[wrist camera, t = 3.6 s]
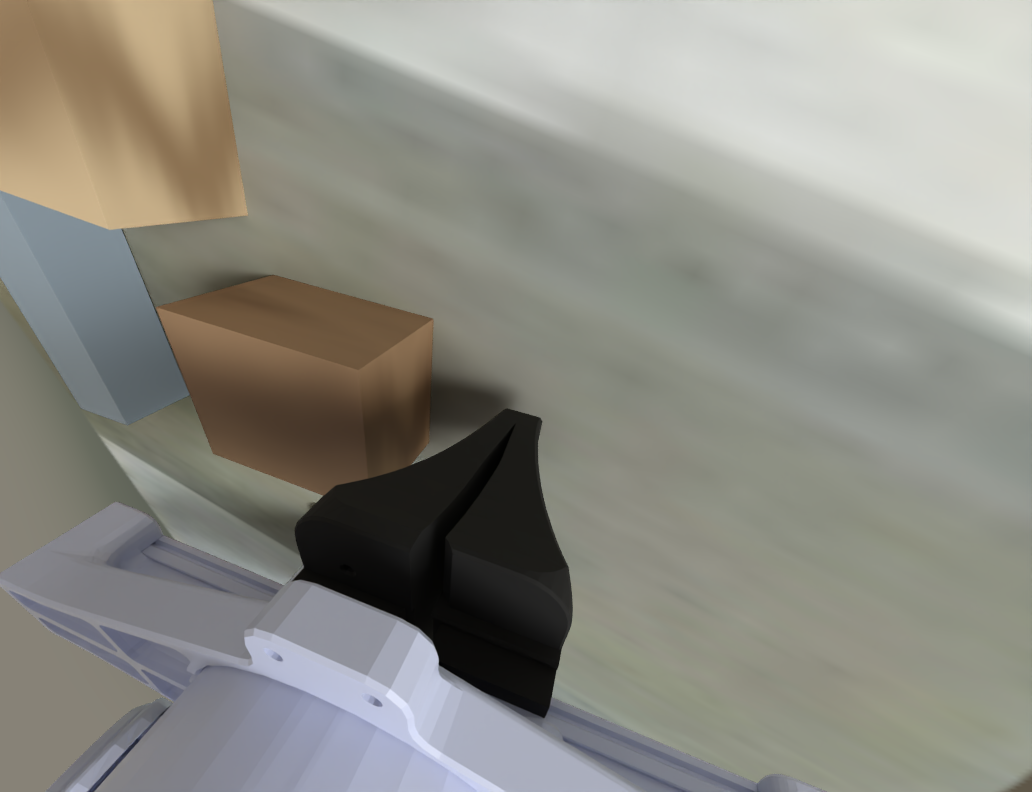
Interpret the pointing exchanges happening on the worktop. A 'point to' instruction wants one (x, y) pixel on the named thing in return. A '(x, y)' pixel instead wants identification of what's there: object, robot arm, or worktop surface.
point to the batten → (88, 310)
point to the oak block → (117, 111)
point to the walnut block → (305, 379)
